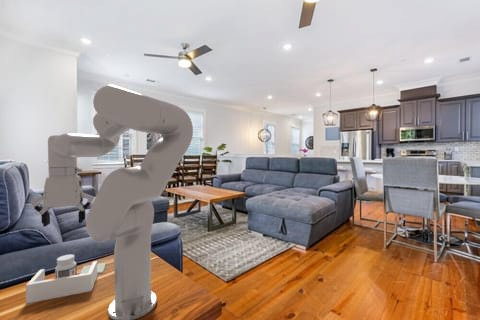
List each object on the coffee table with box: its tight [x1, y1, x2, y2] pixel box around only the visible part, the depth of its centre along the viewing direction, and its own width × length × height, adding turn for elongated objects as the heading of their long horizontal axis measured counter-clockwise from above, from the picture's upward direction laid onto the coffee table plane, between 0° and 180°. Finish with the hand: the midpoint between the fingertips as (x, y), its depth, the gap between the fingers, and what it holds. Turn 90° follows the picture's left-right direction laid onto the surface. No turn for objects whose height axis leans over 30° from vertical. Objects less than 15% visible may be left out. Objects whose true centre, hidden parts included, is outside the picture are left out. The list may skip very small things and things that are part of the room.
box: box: [25, 260, 98, 304], centre depth 75 cm, size 10×16×6 cm, turn 113°
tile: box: [79, 262, 107, 275], centre depth 87 cm, size 8×8×1 cm
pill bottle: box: [54, 254, 78, 279], centre depth 76 cm, size 6×6×10 cm
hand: (64, 223), depth 77 cm, fingers open, 9 cm apart
